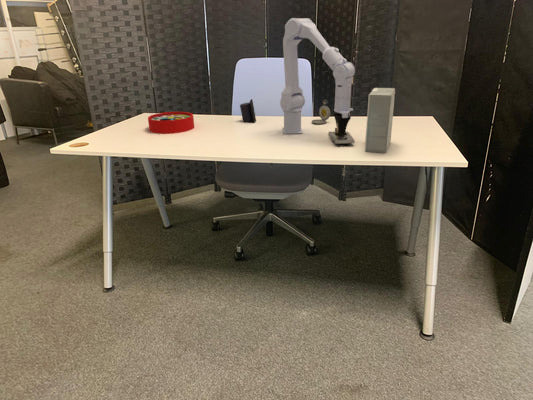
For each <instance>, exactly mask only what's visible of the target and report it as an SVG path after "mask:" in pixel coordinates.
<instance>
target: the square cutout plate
mask: <svg viewBox="0 0 533 400" xmlns="http://www.w3.org/2000/svg"><path fill="white" fill-rule="evenodd" d="M327 133H328V137H329V138H330V140H331V142H332V144H333V143H334V144H339V145H340V146H341V147H345V146H346V147H347V146H348V144H355V138H354V137H353V136H352V135H351V133H350V132H349V131H345V135H344V136H337V127H334V131H328V132H327Z"/></svg>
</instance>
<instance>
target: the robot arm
mask: <svg viewBox="0 0 533 400" xmlns="http://www.w3.org/2000/svg"><path fill="white" fill-rule="evenodd" d="M303 39H308V40H309V41H310V42H312V43H313V45H314V46H315V47H316V48H317V49H318V50H319V51H320V52H321V53H322V55H321V56H322V60H323V61H324V62H325V63H326V64H327V66H328V67H329V68H330V69H331V70H332V75H333V78H334V81H335V82H334V83H335V90H334V91H335V95H334V109H333V111H334V113H333V114H332V115H333V117H334V119H335V125H336V127H337V123H338V132H339V134H345V131H346V130H347V128H348V124H349V121H350V120H351V119H352V117H351V116H350V115H349V113H350V112H353V111H354V108H352V107H351V97H352V96H351V95H352V83H353V82H352V79H353V77H354V75H355V74H356V68H355V66H354V64H353V62H350V61H348V60H347V59H346V58H344V57H343V55H342V54H341V53H340V52H339V51H340V50H339V48H338V47H335V46H330V45H329V43H328V42H327V41H326V39H325V38H324V37H323V36H322V33H320V31H319V30H318V28H317V26H316V24H315V23H314V22H313V21H312V20H311V18H308V17H306V18H305V17H304V18H296V17H292V18H290V19H289V20H288V21H287V22H286V24H285V25H284V34H283V39H282V49H283V50H282V51H283V65H284V66H283V67H284V84H285V86H284V89H283V90H282V91H281V97H280V100H279V101H280V102H279V104H280V105H279V106H280V108H281V109H282V112H283V127H282V133H283V135H284V134H285V135H286V134H288V135H290V134H291V135H292V134H293V135H294V134H295V135H296V134H303V129H302V110H303V107H304V106H305V102H306V98H305V95H304V92H303V89H302V88H301V87H300V83H299V82H300V81H299V62H298V61H299V58H298V45H299V44H300V42H302V40H303ZM346 132H347V131H346Z"/></svg>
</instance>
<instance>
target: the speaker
mask: <svg viewBox="0 0 533 400" xmlns="http://www.w3.org/2000/svg"><path fill="white" fill-rule="evenodd" d="M239 108H240V113H241V119H242V122H243V123H248V122H252V121H253V124H255V123H256V121H257V118H256V117H257V116H256V111H255V107H254V102H253V99H250V100H249V102H244V103H241V104H239Z"/></svg>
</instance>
